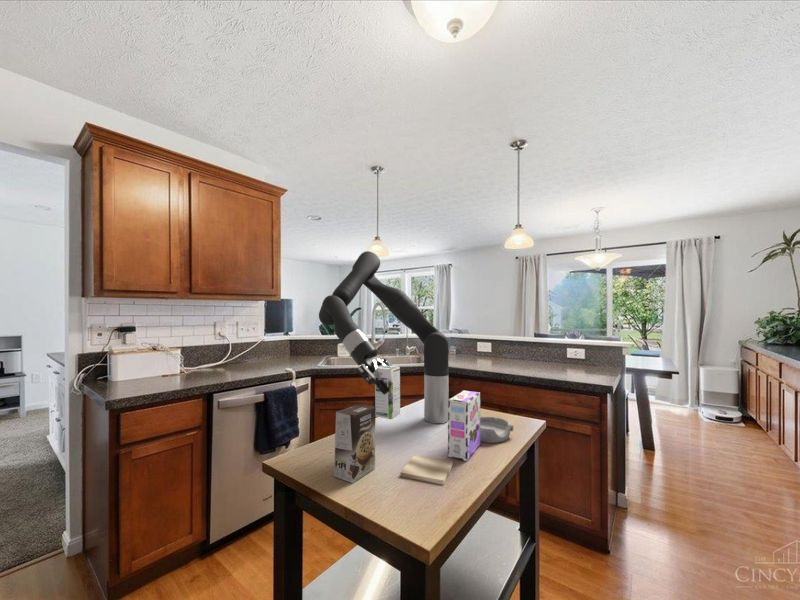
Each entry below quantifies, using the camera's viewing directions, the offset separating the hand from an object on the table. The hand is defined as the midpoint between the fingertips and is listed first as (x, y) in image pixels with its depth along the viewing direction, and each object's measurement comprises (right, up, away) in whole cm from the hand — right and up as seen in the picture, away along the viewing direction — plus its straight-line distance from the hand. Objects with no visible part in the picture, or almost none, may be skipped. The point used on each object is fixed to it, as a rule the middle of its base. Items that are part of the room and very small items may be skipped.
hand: (392, 389), depth 98 cm
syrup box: (-1, -8, +1) cm, 8 cm away
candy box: (+21, -19, +1) cm, 28 cm away
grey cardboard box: (-9, -18, -13) cm, 24 cm away
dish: (+31, -19, +13) cm, 39 cm away
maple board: (+9, -18, -12) cm, 23 cm away
